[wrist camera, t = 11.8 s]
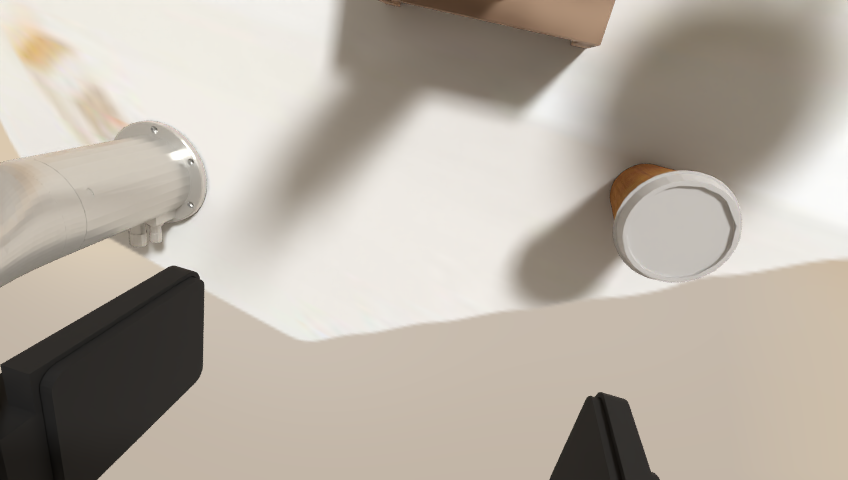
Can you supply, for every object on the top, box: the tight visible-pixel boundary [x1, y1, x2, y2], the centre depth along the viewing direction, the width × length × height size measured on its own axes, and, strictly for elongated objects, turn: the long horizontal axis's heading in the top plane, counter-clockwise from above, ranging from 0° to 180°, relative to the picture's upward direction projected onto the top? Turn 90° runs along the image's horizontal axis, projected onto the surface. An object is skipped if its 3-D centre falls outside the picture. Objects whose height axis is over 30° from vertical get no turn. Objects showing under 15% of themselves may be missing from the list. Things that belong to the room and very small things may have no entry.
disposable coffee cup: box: [610, 164, 742, 282], centre depth 41 cm, size 10×10×12 cm
